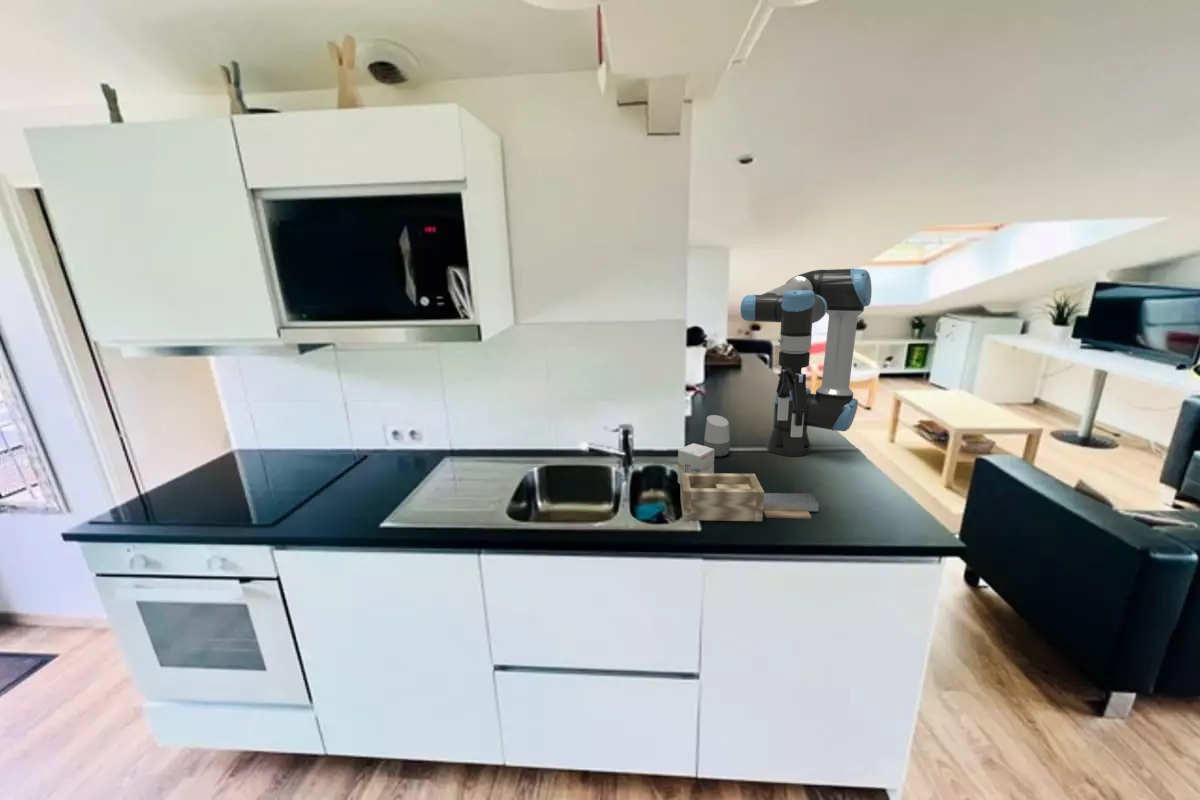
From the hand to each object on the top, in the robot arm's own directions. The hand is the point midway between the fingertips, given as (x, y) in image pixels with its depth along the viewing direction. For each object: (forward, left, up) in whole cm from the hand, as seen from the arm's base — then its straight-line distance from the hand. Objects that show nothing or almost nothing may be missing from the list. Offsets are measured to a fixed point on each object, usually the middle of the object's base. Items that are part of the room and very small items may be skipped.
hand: (789, 428), depth 132 cm
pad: (0, 0, -24) cm, 24 cm away
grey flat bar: (0, +1, -23) cm, 23 cm away
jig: (+2, -18, -24) cm, 30 cm away
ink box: (-16, -23, -24) cm, 37 cm away
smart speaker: (-41, -13, -24) cm, 49 cm away
